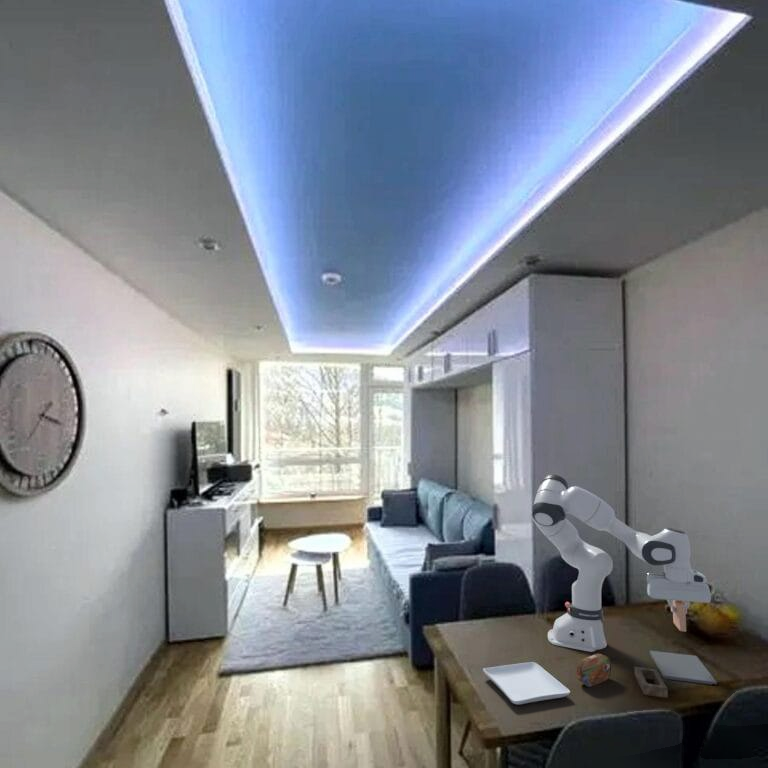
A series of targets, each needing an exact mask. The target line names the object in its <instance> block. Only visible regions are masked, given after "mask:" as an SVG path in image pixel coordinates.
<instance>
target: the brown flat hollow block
mask: <svg viewBox="0 0 768 768" xmlns="http://www.w3.org/2000/svg"><path fill="white" fill-rule="evenodd" d="M634 677H635V679H636V681H637V682H638V685H639V688H640V689H641V692H642V694H643V696H648V697H649V696H651V697H658V698H665V699H668V697H669V696H668V695H669V694H668V687H667V685H666V683H665V682H664V680H663V678H662V676H661V673H659V671H658V670H657V669H655V668H650V667H640V666H634ZM647 680H651V681H654V684H653V683H648V682H647Z"/></svg>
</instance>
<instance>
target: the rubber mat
mask: <svg viewBox="0 0 768 768" xmlns="http://www.w3.org/2000/svg"><path fill="white" fill-rule="evenodd" d="M649 655H650V656H651V658H652V660H653V661H654V663H655V665H656V666H657V668H658V670H659V672H660V674H661V675H662V677H663V678H664V679H665V680H672V681H673V680H674V681H682V682H687V683H695V684H696V683H697V684H705V685H712V684H716V685H715V686H717V685H718V683H717V681H716V679H715V678H714V677H713V675H712V674H711V673H710V671H709V670H708V669H707V668H706V666H705V665H704V664H703V662H702V661H701V660H700V659H699V657H698V655H693V654H683V653H674V652H665V651H656V650H649Z"/></svg>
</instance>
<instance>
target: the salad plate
mask: <svg viewBox="0 0 768 768" xmlns="http://www.w3.org/2000/svg"><path fill="white" fill-rule="evenodd" d="M482 671H483V673H484V674H485V675H486V676H487V677H488V678H489V680H491V682H493V684H495V685H496V686H497V687H498V689H499V690H500V691H501V692H502V693H503V694H504V695H505V696H506V697H507V698H508V699H509V701H510V702H511V703H512V704H514V705H519V706H520V705H524V704H529V703H536V702H540V701H541V702H543V701H547V700H554V699H560V698H564V697H567V696H569V695H570V693H571V691H570V689H569V688H568V687H566V685H564V684H563V683H562V682H560V681H559V680H557V678H555V676H553V675H552V674H550V673H549V672H548V671H547V670H545V668H543V667H542V666H541V665H539V664H538V663H537V662H533V661H531V662H522V663H513V664H504V665H497V666H492V667H484V668H482Z"/></svg>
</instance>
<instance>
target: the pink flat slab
mask: <svg viewBox="0 0 768 768" xmlns="http://www.w3.org/2000/svg"><path fill="white" fill-rule="evenodd" d="M672 605H673V606H675V607H676V608H677V610H676V611H677V613H676V612H672V618H673V619H672V621H673V624H674V625H675V627H676V628H677V629H678V630H679V631H680V632H687V619H686V618H687V617H686V615H687V614H686V613H685V603H683V601H678V600H673V603H672Z"/></svg>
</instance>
